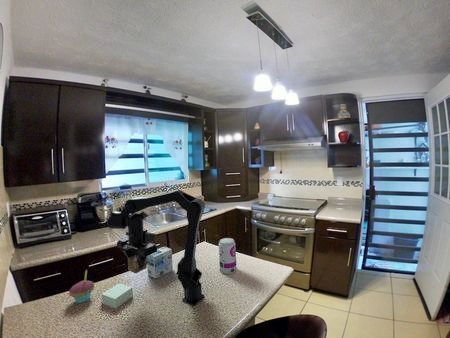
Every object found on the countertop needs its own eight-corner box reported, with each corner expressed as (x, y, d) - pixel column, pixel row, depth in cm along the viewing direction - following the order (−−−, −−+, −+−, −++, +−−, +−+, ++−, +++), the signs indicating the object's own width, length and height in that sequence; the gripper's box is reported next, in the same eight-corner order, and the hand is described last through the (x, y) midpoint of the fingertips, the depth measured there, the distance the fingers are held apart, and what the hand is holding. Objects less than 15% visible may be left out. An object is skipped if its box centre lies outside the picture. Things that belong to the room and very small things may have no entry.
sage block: (133, 296, 89) (132, 287, 89) (115, 309, 82) (114, 298, 81) (119, 292, 92) (119, 283, 92) (102, 303, 85) (101, 294, 85)
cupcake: (92, 290, 94) (90, 263, 93) (97, 299, 88) (95, 270, 87) (68, 300, 88) (66, 271, 87) (72, 309, 82) (70, 278, 81)
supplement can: (239, 268, 107) (238, 239, 107) (231, 276, 100) (229, 244, 100) (225, 265, 112) (224, 236, 111) (216, 272, 105) (215, 242, 104)
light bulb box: (155, 279, 101) (154, 257, 100) (147, 275, 105) (145, 253, 104) (173, 269, 109) (172, 248, 109) (165, 266, 113) (164, 246, 113)
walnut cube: (146, 268, 88) (146, 256, 88) (135, 273, 84) (135, 261, 84) (139, 265, 91) (138, 253, 91) (128, 270, 87) (127, 258, 87)
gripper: (167, 226, 89) (168, 263, 89) (138, 220, 99) (140, 254, 99) (144, 235, 79) (145, 276, 80) (115, 227, 89) (116, 264, 90)
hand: (137, 266), depth 88 cm, fingers closed on walnut cube, 5 cm apart
